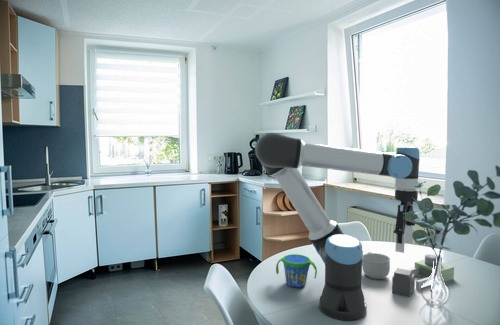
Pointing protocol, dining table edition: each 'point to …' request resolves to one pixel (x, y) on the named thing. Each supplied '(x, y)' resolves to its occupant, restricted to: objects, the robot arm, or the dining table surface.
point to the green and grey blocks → (425, 270)
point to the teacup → (376, 265)
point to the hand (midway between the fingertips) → (403, 247)
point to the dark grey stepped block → (403, 282)
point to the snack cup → (296, 269)
